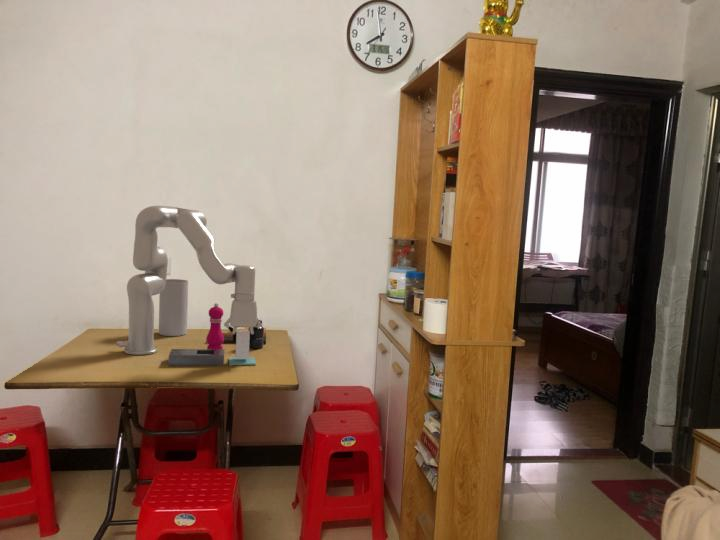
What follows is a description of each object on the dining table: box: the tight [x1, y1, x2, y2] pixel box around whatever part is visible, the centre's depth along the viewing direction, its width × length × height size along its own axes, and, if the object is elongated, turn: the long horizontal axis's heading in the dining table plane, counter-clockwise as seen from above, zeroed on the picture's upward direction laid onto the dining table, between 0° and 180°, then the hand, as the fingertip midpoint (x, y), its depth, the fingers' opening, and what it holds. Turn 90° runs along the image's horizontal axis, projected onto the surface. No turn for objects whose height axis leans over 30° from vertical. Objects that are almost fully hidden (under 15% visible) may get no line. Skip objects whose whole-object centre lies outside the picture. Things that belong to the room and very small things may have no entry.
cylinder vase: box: [158, 278, 189, 337], centre depth 269 cm, size 12×12×25 cm
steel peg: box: [235, 329, 250, 358], centre depth 226 cm, size 5×5×10 cm
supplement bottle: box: [248, 319, 265, 350], centre depth 252 cm, size 7×7×12 cm
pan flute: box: [222, 327, 267, 345], centre depth 270 cm, size 25×3×25 cm
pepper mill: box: [206, 303, 224, 349], centre depth 243 cm, size 7×7×20 cm
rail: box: [168, 348, 225, 367], centre depth 223 cm, size 20×10×4 cm, turn 102°
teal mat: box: [228, 356, 257, 367], centre depth 227 cm, size 10×10×1 cm
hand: (242, 343), depth 226 cm, fingers closed on steel peg, 4 cm apart
